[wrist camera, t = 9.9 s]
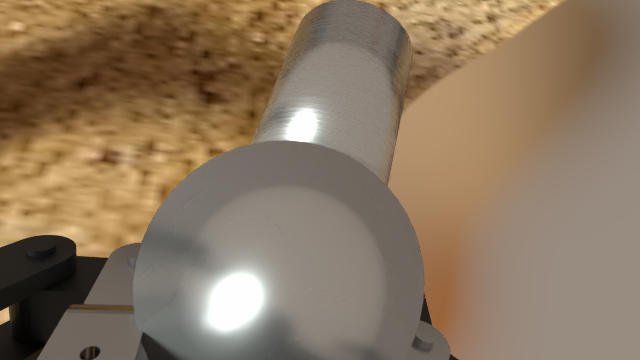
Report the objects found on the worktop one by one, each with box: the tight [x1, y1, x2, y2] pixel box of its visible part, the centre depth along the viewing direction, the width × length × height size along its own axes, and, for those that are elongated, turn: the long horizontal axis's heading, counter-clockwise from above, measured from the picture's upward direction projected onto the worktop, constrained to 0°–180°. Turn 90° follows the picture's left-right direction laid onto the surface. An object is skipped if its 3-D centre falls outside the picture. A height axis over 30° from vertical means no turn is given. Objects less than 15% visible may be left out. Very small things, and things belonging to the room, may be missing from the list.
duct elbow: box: [133, 0, 424, 360], centre depth 12 cm, size 10×5×11 cm, turn 165°
